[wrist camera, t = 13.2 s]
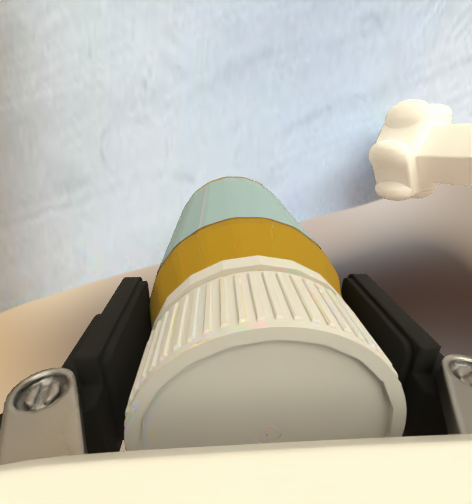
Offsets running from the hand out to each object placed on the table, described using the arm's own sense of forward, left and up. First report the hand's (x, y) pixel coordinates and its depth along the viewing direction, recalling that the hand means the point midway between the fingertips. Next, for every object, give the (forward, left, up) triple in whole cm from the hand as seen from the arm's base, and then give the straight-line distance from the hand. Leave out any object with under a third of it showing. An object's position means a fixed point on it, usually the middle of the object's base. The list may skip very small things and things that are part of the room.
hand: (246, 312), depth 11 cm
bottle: (0, 0, -10) cm, 10 cm away
